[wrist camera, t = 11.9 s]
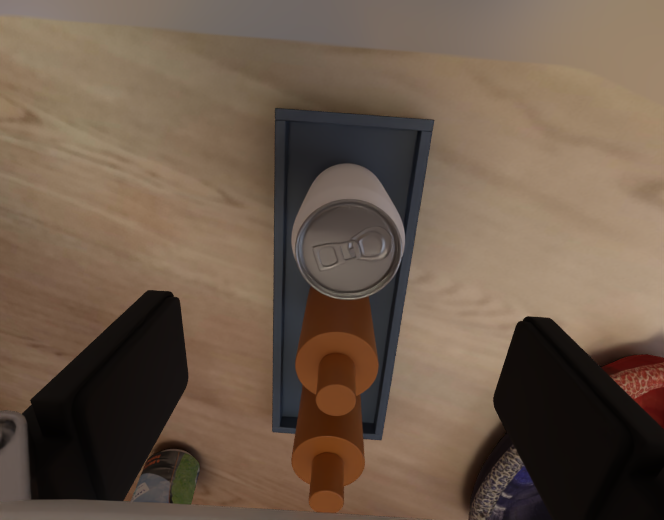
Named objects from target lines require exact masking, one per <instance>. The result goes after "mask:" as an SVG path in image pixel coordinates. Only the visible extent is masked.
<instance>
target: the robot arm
mask: <svg viewBox="0 0 664 520" xmlns="http://www.w3.org/2000/svg"><path fill="white" fill-rule="evenodd" d="M187 382H188V368H187V359H186V350H185V342H184V333H183V324H182V315H181V307H180V300H179V298H177V297H174V295H173V294H172V292H169V291H155V290H148V291H147V292H145V293H144V294H143V295H142V296H141V297H140V298H139V299H138V300H137V301H136V302H135V303H134V304H133V305H131V306H130V307H129V308H128V309H127V310H126V311H125V312H124V313H123V314H122V315H121V316H120V317H119V318H118V319H116V320H115V321H114V322H113V323H112V324H111V325H110V326H109V327H108V328H107V329H106V330H105V331H104V332H103V333H101V334H100V335H99V336H98V337H97V338H96V339H95V340H94V341H93V342H92V343H91V344H90V345H89V346H88V347H87V348H85V349H84V350H83V351H82V352H81V353H80V354H79V355H78V356H77V357H76V358H75V359H74V360H73V361H72V362H70V363H69V364H68V365H67V366H66V367H65V368H64V369H63V370H62V371H61V372H60V373H59V374H58V375H57V376H56V377H54V378H53V379H52V380H51V381H50V382H49V383H48V384H47V385H46V386H45V387H44V388H43V389H42V390H41V391H39V392H38V393H37V394H36V395H35V396H34V397H33V398H32V399H31V400H30V401H31V404H32V405H31V406H30V407H29V408H28V409H26V410H25V411H24V412H23V413H22V414H20V413H18V412H15V411H8V410H4V411H0V520H430V519H415V518H400V517H385V516H369V515H354V514H338V513H323V512H307V511H291V510H274V509H257V508H240V507H223V506H206V505H189V504H172V503H152V502H128V501H123V500H124V499H125V497H126V495H127V493H128V491H129V490H130V488H131V486H132V484H133V482H134V481H135V479H136V477H137V475H138V473H139V472H140V470H141V468H142V466H143V464H144V462H145V461H146V459H147V457H148V455H149V453H150V452H151V450H152V448H153V446H154V444H155V443H156V441H157V439H158V437H159V435H160V434H161V432H162V430H163V428H164V426H165V425H166V423H167V421H168V419H169V417H170V416H171V414H172V412H173V410H174V408H175V407H176V405H177V403H178V401H179V399H180V398H181V396H182V394H183V392H184V390H185V388H186V386H187ZM493 402H494V408H495V410H496V412H497V414H498V416H499V418H500V420H501V422H502V424H503V426H504V427H505V429H506V431H507V433H508V435H509V437H510V439H511V441H512V443H513V445H514V447H515V449H516V451H517V452H518V454H519V456H520V458H521V460H522V462H523V464H524V466H525V468H526V470H527V472H528V474H529V476H530V477H531V479H532V481H533V483H534V485H535V487H536V489H537V491H538V493H539V495H540V497H541V499H542V501H543V502H544V504H545V506H546V508H547V510H548V512H549V514H550V516H551V518H552V520H664V429H663V428H662V427H661V426H660V425H659V424H658V423H657V422H656V421H655V420H654V419H653V418H652V417H651V416H650V415H649V414H648V413H647V412H646V411H645V410H644V409H643V408H642V407H641V406H640V405H639V404H638V403H637V402H636V401H635V400H634V399H632V398H631V397H630V396H629V395H628V394H627V393H626V392H625V391H624V390H623V389H622V388H621V387H620V386H619V385H618V384H617V383H616V382H615V381H614V380H613V379H612V378H611V377H610V376H609V375H608V374H607V373H606V372H605V371H604V370H603V369H602V368H601V367H600V366H599V365H598V364H597V363H596V362H595V361H594V360H593V359H592V358H591V357H590V356H589V355H588V354H587V353H586V352H585V351H584V350H583V349H582V348H581V347H580V346H579V345H578V344H577V343H576V342H575V341H574V340H572V339H571V338H570V337H569V336H568V335H567V334H566V333H565V332H564V331H563V330H562V329H561V328H560V327H559V326H558V325H557V324H556V323H555V322H554V321H553V320H552V319H550V318H543V317H529V316H528V317H525V318H524V319H523V321H520V322H518V323H517V325H516V328H515V331H514V334H513V337H512V340H511V343H510V346H509V349H508V353H507V356H506V359H505V362H504V365H503V368H502V371H501V374H500V378H499V381H498V384H497V387H496V390H495V393H494V397H493Z"/></svg>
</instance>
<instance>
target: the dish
mask: <svg viewBox="0 0 664 520" xmlns="http://www.w3.org/2000/svg"><path fill="white" fill-rule="evenodd" d="M601 368H602V369H603V370H604V371H605V372H606V373H607V374H608V375H609V376H610V377H611V378H612V379H613V380H614V381H615V382H616V383H617V384H618V385H619V386H620V387H621V388H622V389H623V390H624V391H625V392H626V393H627V394H628V395H629V396H630V397H631V398H632V399H634V400H635V401H636V402H637V403H638V404H639V405H640V406H641V407H642V408H643V409H644V410H645V411H646V412H647V413H648V414H649V415H650V416H651V417H652V418H653V419H654V420H655V421H656V422H657V423H658V424H659V425H660V426H661V427H662V428H663V429H664V358H663V357H658V356H653V355H648V354H642V355H632V356H628V357H624V358H622V359H620V360H617V361H615V362H613V363H610V364H608V365H605V366H603V367H601ZM469 520H552V518H551V516H550V514H549V512H548V510H547V508H546V506H545V504H544V502H543V501H542V499H541V497H540V495H539V493H538V491H537V489H536V487H535V485H534V483H533V481H532V479H531V477H530V476H529V474H528V472H527V470H526V468H525V466H524V464H523V462H522V460H521V458H520V456H519V454H518V452H517V451H516V449H515V447H514V445H513V443H512V441H511V439H510V437H509V435H508V433H507V434H506V435H505V436H504V437H503V438H502V439H501V441H500V442H499V443H498V444H497V446H496V447H495V448H494V450H493V451H492V453H491V454H490V455H489V457H488V458H487V460H486V462H485V463H484V465H483V467H482V469H481V471H480V473H479V475H478V477H477V480H476V483H475V486H474V489H473V492H472V496H471V501H470V512H469Z"/></svg>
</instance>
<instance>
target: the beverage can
mask: <svg viewBox="0 0 664 520" xmlns="http://www.w3.org/2000/svg"><path fill="white" fill-rule="evenodd" d="M199 471H200V466H199V463H198V461H197V460H196V459H195V458H194V457H193V456H192V455H191V454H190V453H188V452H186V451H183V450H179V449H168V450H164V451H161V452H158V453H156V454H154V455H152V456H151V457H150V458H149V459H148V460H147V462H146V464H145V466H144V469H143V471H142V474H141V476H140V479H139V482H138V484H137V487H136V489H135V492H134V494H133V497H132V499H131V502H152V503H172V504H189V505H191V502H192V498H193V494H194V490H195V487H196V483H197V479H198V475H199Z"/></svg>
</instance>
